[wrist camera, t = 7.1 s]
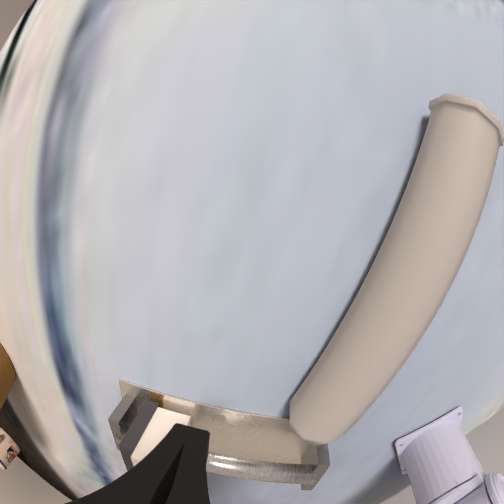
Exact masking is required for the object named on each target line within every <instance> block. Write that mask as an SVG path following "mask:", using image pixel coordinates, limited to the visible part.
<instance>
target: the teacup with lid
mask: <svg viewBox="0 0 504 504" xmlns="http://www.w3.org/2000/svg"><path fill="white" fill-rule="evenodd" d="M19 452H20V448H19V447H18V445H17V444H16V443H15V441H14V440H13V439H12V438H11V437H10V436H9V435H8V434H7V433H6V432H5V431H4V430H3V429H2V428H1V427H0V468H2V469H4V470H5V469H7V466H8V465H9V464H10V463H11V462H12V460H13V459H14V458H15V457H16V456H17V455H18V453H19Z"/></svg>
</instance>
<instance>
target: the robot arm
mask: <svg viewBox="0 0 504 504" xmlns="http://www.w3.org/2000/svg"><path fill="white" fill-rule="evenodd" d="M462 413H463V408H462V407H461V406H459V407H457V408H456V409H454V410H452V411H451V412H449V413H447V414H446V415H444V416H442V417H441V418H439V419H437V420H435V421H433V422H432V423H430V424H428V425H426V426H424V427H422V428H420V429H418V430H416V431H414V432H412V433H410V434H408V435H406V436H404V437H402V438H399V439H397V440H396V441H395V447H396V451H397V455H398V459H399V464H400V468H401V472H402V474H403V475H404V474H408V477H409V480H410V483H411V487H412V490H413V493H414V496H415V500H416V503H417V504H504V477H503V475H502V474H500V473H498V472H497V473H494V472H491V473H489V474H488V475H486V474H485V473H484V471H483V469H482V467H481V465H480V463H479V461H478V459H477V458H476V456H475V454H474V452H473V450H472V448H471V446H470V444H469V443H468V441H467V439H466V437H465V435H464V434H463V432H462V430H461V424H462ZM209 439H210V432H208V431H207V430H203V429H198V428H194V427H190V426H187V425H183V424H179V423H176V424H174V426H173V427H172V428H171V430H170V431H169V432H168V433H167V435H166V436H165V437H164V438H163V439H162V440H161V441H160V442H159V444H158V445H157V446H156V447H155V448H154V449H153V450H152V451H151V452H150V453H149V454H148V455H147V456H145V457H144V458H143V459H142V460H141V461H140V462H139V463H137V464H136V465H135V466H134V467H133V468H131V469H130V470H129V471H128V472H126V473H125V474H123V475H122V476H121V477H119V478H118V479H116V480H115V481H113V482H112V483H110V484H108V485H106V486H105V487H103V488H101V489H99V490H97V491H95V492H93V493H91V494H89V495H87V496H84V497H82V498H79V499H77V500H74V501H71V502H68V503H65V504H210V501H209V494H208V487H207V475H206V463H207V458H208V451H209Z"/></svg>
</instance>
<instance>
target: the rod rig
mask: <svg viewBox="0 0 504 504" xmlns="http://www.w3.org/2000/svg"><path fill="white" fill-rule="evenodd" d="M119 383H120V389H121V395H122V400H121V402H120V403H119V404H118V406H117V407H116V409H115V410H114V411H113V413H112V414H111V416H110V417H109V419H108V420H109V423H110V427H111V430H112V433H113V436H114V439H115V442H116V445H117V448H118V450H120V449H119V444H120V442H121V441H122V439H123V437H124V436H125V434H126V432H127V431H128V429H129V427H130V426H131V424H132V422H133V421H134V419H135V417H136V416H137V414H138V413H139V411H140V409H141V408H142V406H143V404H144V403H145V401H146V399H147V400H150V401H153V402H156V403H159V407H160V408H163V409H166V410H170V411H173V412H177V413H180V414H184V415H188V416H191V424H190V427H194V428H198V429H203V430H207V431H208V432H210V439H209V451H208V458H207V463H206V472H210V473H215V474H220V475H225V476H231V477H236V478H243V479H250V480H257V481H266V482H276V483H290V484H301V490H312V489H313V488H314V487H315V485H316V484H317V483H318V481H319V480H320V479H321V477H322V476H323V475H324V473H325V472H326V470H327V469H328V467H329V466H330V461H329V452H328V444H323V445H319V446H315V445H312V444H310V443H307V442H305V441H303V440H301V439H300V438H299V437H297V436H296V435H295V434H294V433H293V432H292V431H290V430H289V422H290V418H281V417H273V416H266V415H259V414H252V413H246V412H241V411H235V410H230V409H225V408H220V407H215V406H211V405H206V404H202V403H198V402H194V401H190V400H186V399H182V398H178V397H175V396H171V395H168V394H164V393H161V392H158V391H155V390H151V389H148V388H145V387H142V386H139V385H136V384H133V383H131V382H128V381H125V380H122V379H119Z"/></svg>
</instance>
